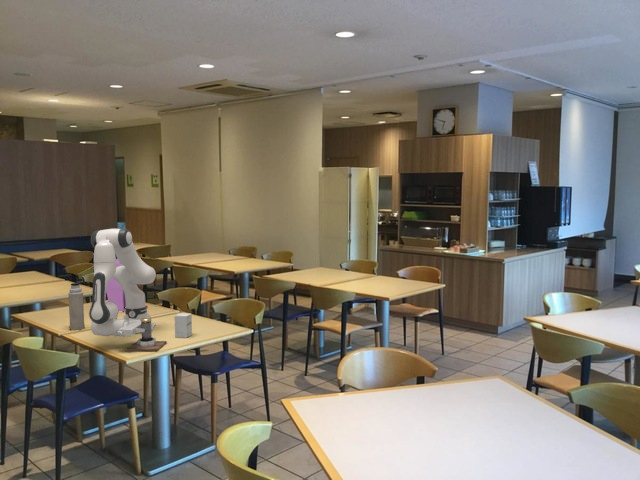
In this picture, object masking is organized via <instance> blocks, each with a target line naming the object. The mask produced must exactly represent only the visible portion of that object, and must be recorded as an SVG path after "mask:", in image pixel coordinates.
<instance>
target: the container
mask: <svg viewBox="0 0 640 480" xmlns="http://www.w3.org/2000/svg"><path fill="white" fill-rule="evenodd" d="M119 266H123V265H121V264H120V263H119V261H118V259H117V258H116V268H117V267H119ZM106 297H107V302H114V303H115V304H116V305H117V307H118V311H122V312H121V313H124V312H125V308H124V307H126V301H125V294H124V291H123V289H122V287H121V286H120V284H119V283H117V282H116V281H115V279H114V277H112V278H111V279H110V280H109V282H108V283H107V285H106ZM123 311H124V312H123Z"/></svg>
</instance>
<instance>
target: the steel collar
mask: <svg viewBox="0 0 640 480" xmlns="http://www.w3.org/2000/svg"><path fill="white" fill-rule="evenodd" d="M156 341H157V338H156V337H153V336H152V341H142V337H141V338H138V339H137V340H136V342H137V344H138V346H139V347H152V346H155V345H156Z"/></svg>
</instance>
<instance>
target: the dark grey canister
mask: <svg viewBox="0 0 640 480" xmlns="http://www.w3.org/2000/svg"><path fill="white" fill-rule="evenodd" d="M140 322H141V329H142V328H145V332H140V333H141V338H142V341H152V337H153V336H152V330H151V323H152V322H153V321H152V317H151V318H141V319H140Z"/></svg>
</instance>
